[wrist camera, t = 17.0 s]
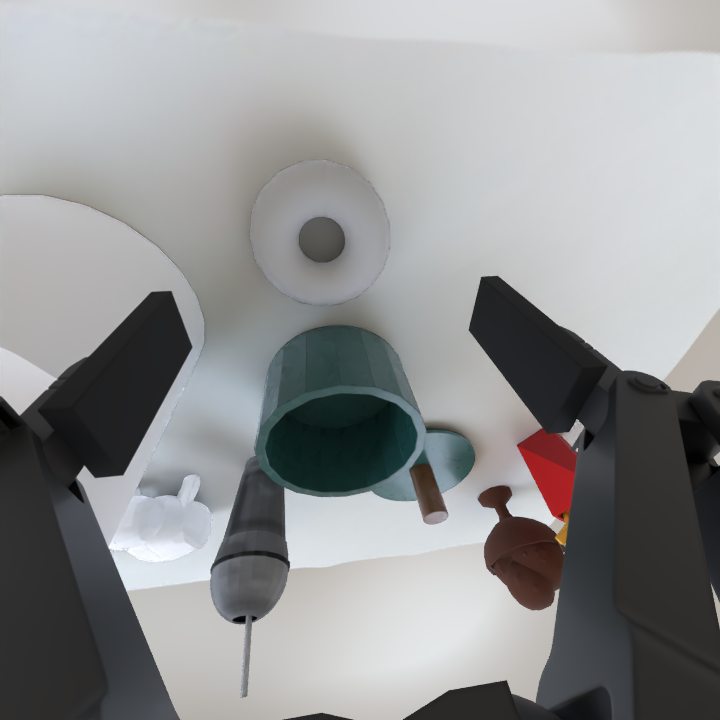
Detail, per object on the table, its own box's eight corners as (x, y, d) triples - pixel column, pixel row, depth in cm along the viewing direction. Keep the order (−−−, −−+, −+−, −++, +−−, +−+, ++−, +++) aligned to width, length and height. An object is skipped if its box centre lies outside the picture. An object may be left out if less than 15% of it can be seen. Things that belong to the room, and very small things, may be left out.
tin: (278, 435, 37) (271, 505, 30) (254, 329, 28) (236, 393, 21) (397, 423, 38) (416, 488, 31) (407, 319, 30) (437, 377, 23)
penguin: (224, 486, 46) (169, 460, 33) (219, 555, 41) (153, 554, 29) (163, 496, 45) (83, 473, 33) (152, 566, 41) (54, 571, 28)
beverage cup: (276, 439, 37) (251, 677, 21) (304, 472, 41) (301, 689, 25) (221, 459, 38) (157, 702, 22) (254, 489, 42) (221, 710, 26)
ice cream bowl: (474, 520, 56) (519, 628, 44) (453, 493, 49) (499, 611, 37) (533, 497, 53) (597, 605, 41) (518, 466, 47) (590, 582, 35)
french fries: (572, 436, 44) (670, 551, 32) (522, 467, 48) (594, 583, 36) (543, 411, 40) (642, 532, 28) (490, 447, 43) (559, 570, 31)
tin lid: (363, 499, 47) (371, 554, 41) (364, 432, 38) (375, 489, 32) (460, 488, 49) (482, 539, 43) (483, 420, 40) (514, 473, 34)
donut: (281, 306, 27) (394, 279, 27) (277, 326, 25) (403, 297, 24) (230, 177, 21) (374, 140, 21) (216, 184, 19) (382, 142, 18)
